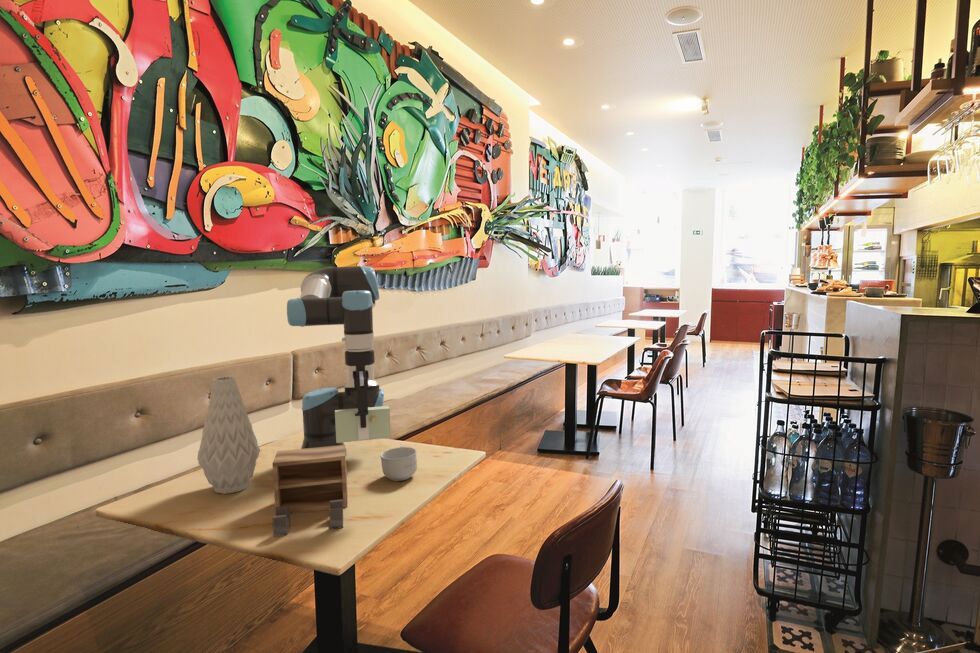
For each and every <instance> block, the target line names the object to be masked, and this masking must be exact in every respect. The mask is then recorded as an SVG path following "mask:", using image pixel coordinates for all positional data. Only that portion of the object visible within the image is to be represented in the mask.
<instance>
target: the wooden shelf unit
mask: <svg viewBox="0 0 980 653" xmlns="http://www.w3.org/2000/svg"><path fill="white" fill-rule="evenodd" d="M345 448H346V444H344V445H338V446H327V447H316V448H306V449H301V448H296V449H286V450H277V451H276V453H275V455H274V456H275V457H274V459H273V461H272V473H273V474H272V476H273V477H272V478H273V490H274V491H273V494H274V508H275V515H273V516H272V530H273V537H281V536H287V535H288V533H289V529H290V528H289V527H290V524H291V523H290V522H291V520H290V518H291V517H290V515H291V514H301V513H308V512H316V511H326V510H328V511H329V527H330V529H329V530H335V529H343V528H344V508H348V478H347V477H348V475H347V474H348V473H347V450H346V451H345Z"/></svg>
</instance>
